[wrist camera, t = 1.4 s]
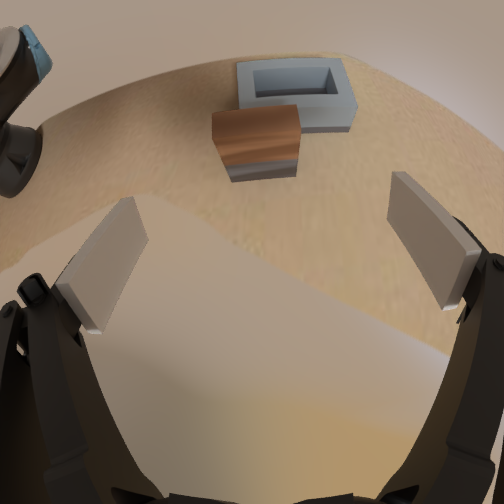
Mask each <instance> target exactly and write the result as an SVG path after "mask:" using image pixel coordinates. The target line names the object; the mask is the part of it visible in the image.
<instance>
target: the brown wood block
mask: <svg viewBox="0 0 504 504" xmlns="http://www.w3.org/2000/svg"><path fill="white" fill-rule="evenodd" d="M300 138H301V125H300V119H299V114H298V109H297V104H293V105H277V106H265V107H254V108H245V109H237V110H229V111H222V112H216V113H212V139H213V142H214V144H215V146H216V148H217V150H218V153H219V155H220V157H221V159H222V162H223V164H224V166H225V168H226V170H227V173H228V175H229V177H230V179H231V182H241V181H251V180H261V179H272V178H285V177H296V172H297V163H298V155H299V147H300Z"/></svg>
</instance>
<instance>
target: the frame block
mask: <svg viewBox="0 0 504 504" xmlns="http://www.w3.org/2000/svg"><path fill="white" fill-rule="evenodd" d="M237 80H238V96H239V109H245V108H254V107H265V106H277V105H293V104H297V109H298V114H299V119H300V125H301V133H324V132H349V129H350V127H351V124H352V122H353V119H354V117H355V114H356V111H357V109H358V105H357V102H356V99H355V96H354V93H353V90H352V87H351V84H350V82H349V79H348V76H347V73H346V71H345V68H344V66H343V63H342V61H341V58H284V59H269V60H257V61H248V62H239V63H237Z"/></svg>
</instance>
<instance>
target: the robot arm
mask: <svg viewBox="0 0 504 504" xmlns="http://www.w3.org/2000/svg"><path fill="white" fill-rule="evenodd" d="M51 68H52V60H51V58H50V57H49V55H48V54H47V52H46V51H45V49H44V48H43V46H42V45H41V44H40V42H39V40H38V39H37V37H36V36H35V34H34V33H33V31H32V30H31V28H30V27H29V26H28V25H24V26H23V27H20V28H19V29H17V28H15V27H12V26H9V27H5V28H3V29H0V195H1V196H4V197H6V198H12V197H14V196H16V195H17V194H18V193H20V192H21V190H22V189H23V188H24V187H25V186H26V184H27V183H28V181H29V179H30V178H31V176H32V174H33V172H34V170H35V168H36V165H37V163H38V160H39V157H40V153H41V148H42V138H41V135H40V134H39V133H38V132H37V131H35V130H34V129H32V128H30V127H22V126H17V125H12V124H10V123H8V122H7V120H8V119H9V117H10V116H11V115H12V114H13V113H14V111H15V110H16V109H17V108H18V106H19V105H20V104H21V103H22V102H23V101H24V100H25V99H26V97H27V96H28V95H29V94H30V93H31V92H32V91H33V90H34V89H35V88H36V87H37V86H38V85H39V84H40V83H41V81H42V79H43V78H44V77H45V76H46V75H47V74H48V73H49V72H50V70H51ZM387 220H388V222H389V223H390V225H391V226H392V228H393V229H394V231H395V232H396V234H397V235H398V237H399V238H400V240H401V241H402V243H403V244H404V246H405V247H406V249H407V250H408V252H409V254H410V255H411V257H412V259H413V260H414V262H415V263H416V265H417V267H418V268H419V270H420V272H421V273H422V275H423V277H424V279H425V280H426V282H427V284H428V286H429V287H430V289H431V291H432V293H433V295H434V297H435V298H436V300H437V302H438V304H439V306H440V308H441V310H442V311H445V310H449V309H454V308H457V306H458V304H459V302H460V300H461V298H462V296H463V298H464V299H465V301H466V305H465V307H464V309H463V311H462V313H461V315H460V317H459V319H458V320H457V322H456V323H457V324H459V322H460V326H459V329H458V333H457V337H456V341H455V344H454V348H453V351H452V354H451V357H450V361H449V364H448V367H447V370H446V372H445V375H444V378H443V381H442V384H441V386H440V389H439V391H438V394H437V396H436V399H435V401H434V404H433V406H432V408H431V411H430V413H429V415H428V417H427V420H426V422H425V424H424V426H423V428H422V430H421V432H420V434H419V436H418V438H417V440H416V442H415V444H414V446H413V448H412V449H411V451H410V453H409V455H408V457H407V458H406V460H405V462H404V463H403V465H402V466H401V467H400V469H399V470H398V471H397V472H396V473H395V474H394V475H393V476H392V477H391V478H390V480H389V481H388V482H387V484H386V485H385V486H384V488H383V489H382V491H381V492H380V493H379V495H378V496H377V498H376V499H371V498H366V497H359V496H353V493H350V494H345V495H339V496H333V497H325V498H317V499H308V500H304V501H301V502H298V503H294V504H482V503H483V501H484V498H485V496H486V494H487V492H488V490H489V487H490V485H491V483H492V480H493V477H494V474H495V464H494V463H493V462H492V461H491V460H490V454H491V450H492V448H493V445H494V442H495V438H496V435H497V432H498V428H499V425H500V421H501V417H502V414H503V409H504V256H502V255H500V254H496V253H491V254H490V253H489V252H488V251H487V249H486V248H485V247H484V246H483V245H482V243H481V242H480V241H479V240H478V239H477V238H476V237H475V236H474V234H473V233H472V232H471V231H470V230H469V229H468V228H467V227H466V225H465V224H464V223H463V222H461V221H460V220H458V219H457V218H455V217H454V216H451V215H450V214H449V212H448V211H447V210H446V209H445V208H444V207H443V206H442V205H441V204H440V203H439V202H438V201H437V200H436V199H435V198H433V197H432V196H431V195H430V194H429V193H428V192H427V191H426V190H425V189H424V188H423V187H422V186H421V185H420V184H419V183H417V182H416V181H415V180H414V179H413V178H412V177H411V176H410V175H408V174H407V173H406V172H392V179H391V189H390V198H389V207H388V214H387ZM147 242H148V237H147V234H146V232H145V229H144V226H143V223H142V220H141V218H140V215H139V212H138V209H137V206H136V203H135V200H134V197H133V196H132V197H127V198H122V199H121V200H120V201H119V202H118V203H117V204H116V205H115V206H114V208H113V209H112V210H111V211H110V212H109V214H108V215H107V216H106V217H105V218H104V219H103V220H102V222H101V223H100V224H99V225H98V226H97V228H96V229H95V230H94V231H93V233H92V234H91V235H90V237H89V238H88V239H87V240H86V241H85V243H84V244H83V245H82V247H81V248H80V249H79V251H78V252H77V253H76V254H75V255H74V257H73V258H72V259H71V260H70V262H69V263H68V265H67V266H66V267H65V269H64V271H62V273H61V274H60V276H59V277H58V279H57V280H56V282H55V283H54V284H53V286H52V287H51V289H50V288H49V287H48V285H47V284H46V282H45V280H44V279H43V277H42V275H41V274H40V273H34V274H32V275H30V276H28V277H27V278H26V279H24V280H23V282H22V283H21V284H20V285H19V287H18V289H17V293H18V294H19V296H20V297H21V299H22V300H23V302H24V303H25V304H26V306H27V307H25V308H21V307H20V306H19V304H18V303H17V301H15V300H13V301H10V302H8V303H6V304H5V305H4V306H3V307H2V309H1V311H0V504H237V503H234V502H227V501H220V500H214V499H206V498H198V497H190V496H184V495H177V494H172V493H170V494H169V497H167V498H164V497H163V496H162V494H161V493H160V491H159V490H158V489H157V487H156V486H155V485H154V484H153V483H152V482H151V481H150V480H149V479H148V478H147V477H146V476H144V474H143V473H142V472H141V471H140V469H139V468H138V466H137V464H136V462H135V461H134V459H133V457H132V455H131V454H130V451H129V450H128V448H127V446H126V444H125V442H124V440H123V438H122V436H121V434H120V432H119V430H118V428H117V426H116V424H115V421H114V419H113V417H112V415H111V413H110V410H109V408H108V406H107V403H106V401H105V399H104V396H103V394H102V391H101V388H100V386H99V383H98V381H97V378H96V375H95V372H94V370H93V367H92V364H91V361H90V358H89V355H88V352H87V348H86V345H85V342H84V339H83V336H82V334H81V333H80V331H79V328H80V326H81V324H82V325H83V326H84V327H85V329H86V330H87V331H88V333H93V334H103V332H104V329H105V327H106V325H107V323H108V320H109V318H110V316H111V314H112V312H113V309H114V307H115V305H116V303H117V301H118V299H119V297H120V295H121V293H122V290H123V288H124V286H125V284H126V282H127V280H128V278H129V276H130V274H131V272H132V270H133V268H134V266H135V265H136V263H137V261H138V259H139V257H140V255H141V253H142V251H143V249H144V248H145V246H146V244H147ZM460 320H461V321H460ZM17 344H18V345H19V346H20V347H21V348H22V349H23V351H24V355H21V354H20V353H19V352H18V351H17ZM492 504H504V437H503V445H502V453H501V459H500V464H499V470H498V475H497V479H496V485H495V489H494V494H493V500H492Z"/></svg>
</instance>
